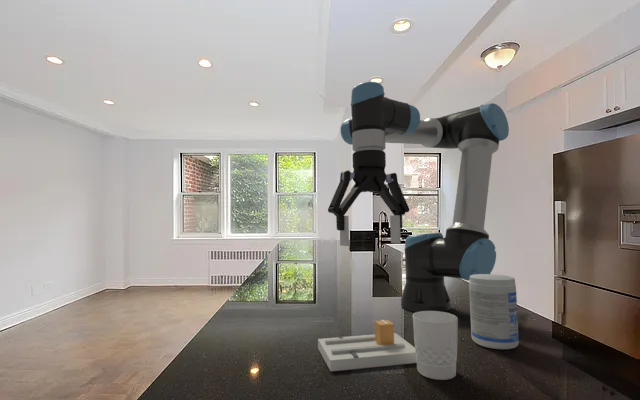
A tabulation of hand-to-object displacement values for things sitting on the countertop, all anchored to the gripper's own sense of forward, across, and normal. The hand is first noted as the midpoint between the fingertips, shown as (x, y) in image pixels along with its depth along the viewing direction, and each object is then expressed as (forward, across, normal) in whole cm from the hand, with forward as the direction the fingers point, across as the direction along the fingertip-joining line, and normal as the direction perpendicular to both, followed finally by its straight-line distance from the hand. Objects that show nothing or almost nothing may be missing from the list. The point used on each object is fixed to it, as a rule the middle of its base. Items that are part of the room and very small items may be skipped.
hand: (371, 244), depth 79 cm
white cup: (+22, -3, +17) cm, 28 cm away
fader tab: (+20, +1, +5) cm, 21 cm away
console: (+22, +4, +4) cm, 23 cm away
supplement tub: (+22, -25, +11) cm, 35 cm away
